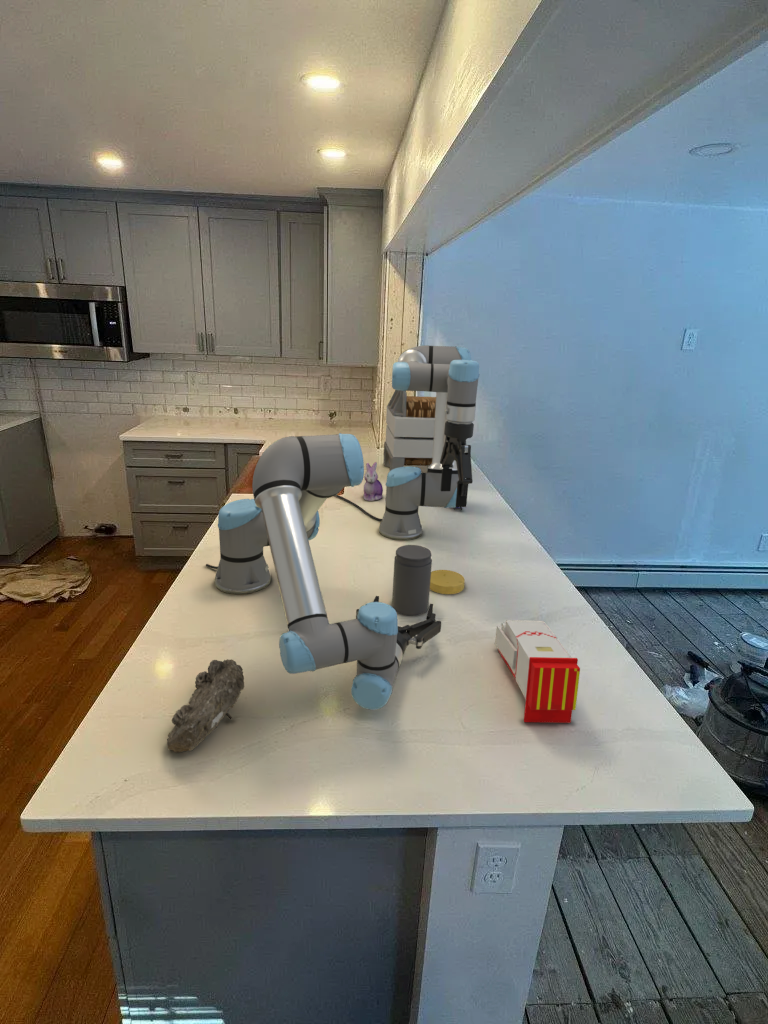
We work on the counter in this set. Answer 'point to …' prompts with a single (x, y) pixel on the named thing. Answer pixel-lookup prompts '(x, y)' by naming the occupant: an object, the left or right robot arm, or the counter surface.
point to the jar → (411, 580)
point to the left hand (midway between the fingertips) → (404, 604)
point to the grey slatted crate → (409, 430)
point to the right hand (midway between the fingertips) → (452, 498)
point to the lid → (446, 582)
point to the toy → (540, 670)
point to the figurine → (372, 484)
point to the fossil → (206, 705)
